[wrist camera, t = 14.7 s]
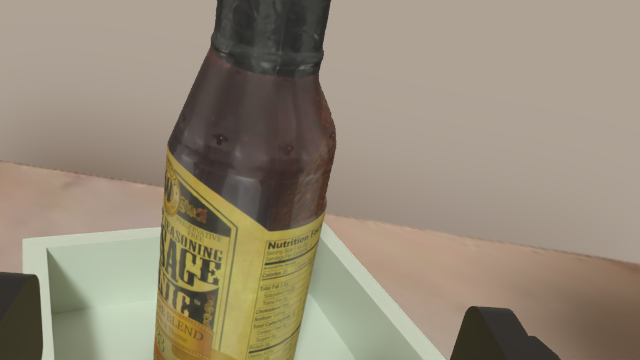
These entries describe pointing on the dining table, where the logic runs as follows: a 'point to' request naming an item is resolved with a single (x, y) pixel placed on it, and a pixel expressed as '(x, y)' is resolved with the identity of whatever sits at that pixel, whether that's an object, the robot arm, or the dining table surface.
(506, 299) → the dining table surface
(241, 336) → the sauce bottle
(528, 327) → the dining table surface
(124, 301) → the sage bin
